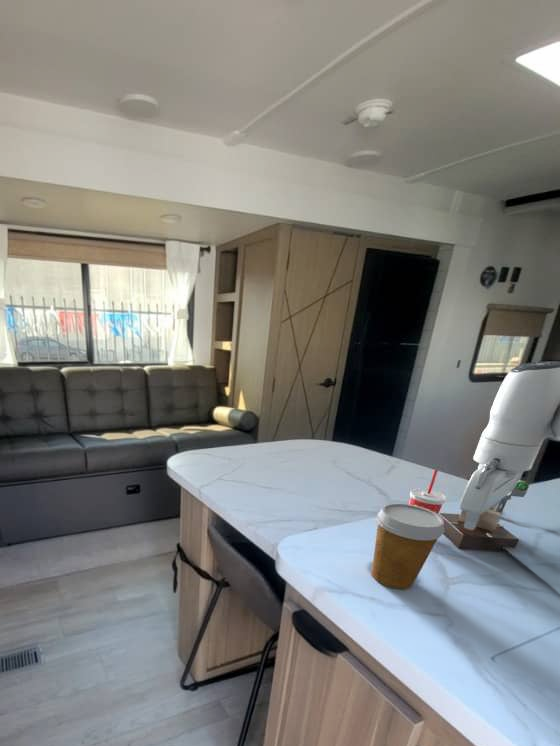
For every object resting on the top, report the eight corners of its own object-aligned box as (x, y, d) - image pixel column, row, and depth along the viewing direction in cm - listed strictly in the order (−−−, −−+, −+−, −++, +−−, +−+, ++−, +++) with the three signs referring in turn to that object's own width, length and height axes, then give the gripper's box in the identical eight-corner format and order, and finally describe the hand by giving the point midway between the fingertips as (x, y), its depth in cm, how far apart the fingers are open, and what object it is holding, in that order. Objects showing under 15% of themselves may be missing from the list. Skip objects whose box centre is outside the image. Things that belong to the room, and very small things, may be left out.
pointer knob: (495, 529, 79) (502, 512, 78) (492, 532, 78) (500, 514, 77) (461, 518, 83) (467, 501, 82) (458, 520, 82) (464, 503, 81)
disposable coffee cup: (436, 586, 66) (460, 520, 61) (400, 602, 62) (423, 534, 57) (384, 558, 74) (402, 498, 69) (349, 571, 70) (365, 508, 64)
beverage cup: (431, 545, 79) (455, 478, 73) (397, 536, 82) (417, 471, 76) (432, 533, 84) (455, 468, 78) (400, 525, 86) (419, 462, 80)
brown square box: (483, 528, 86) (488, 515, 85) (514, 553, 77) (520, 538, 76) (433, 524, 87) (437, 511, 86) (458, 549, 78) (463, 534, 76)
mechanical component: (499, 524, 88) (517, 481, 84) (479, 506, 97) (494, 466, 93) (514, 526, 88) (533, 483, 83) (493, 507, 97) (509, 467, 92)
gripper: (508, 470, 66) (478, 543, 72) (539, 450, 78) (511, 514, 84) (464, 460, 71) (439, 530, 77) (500, 442, 83) (476, 504, 88)
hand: (477, 521), depth 80 cm, fingers open, 8 cm apart
